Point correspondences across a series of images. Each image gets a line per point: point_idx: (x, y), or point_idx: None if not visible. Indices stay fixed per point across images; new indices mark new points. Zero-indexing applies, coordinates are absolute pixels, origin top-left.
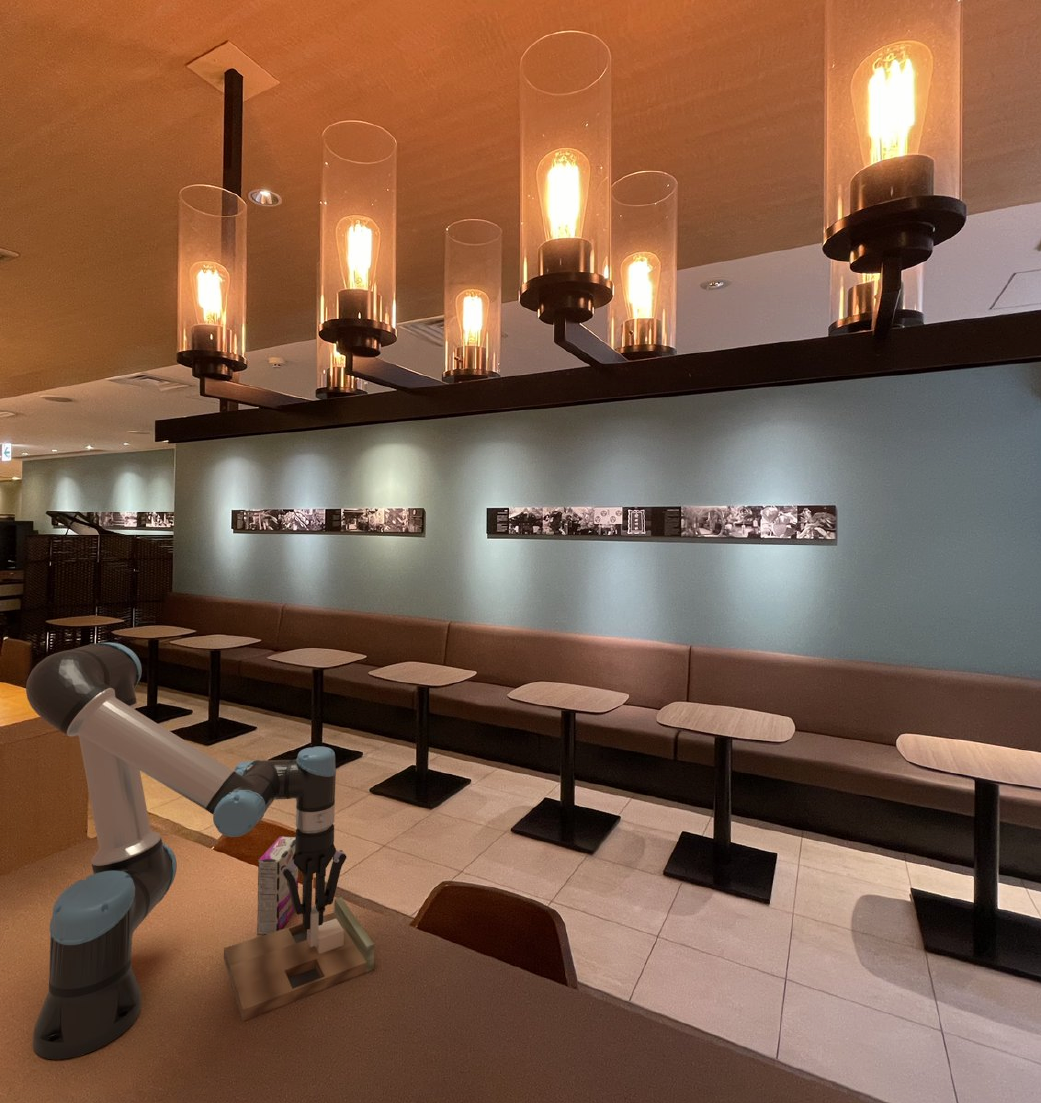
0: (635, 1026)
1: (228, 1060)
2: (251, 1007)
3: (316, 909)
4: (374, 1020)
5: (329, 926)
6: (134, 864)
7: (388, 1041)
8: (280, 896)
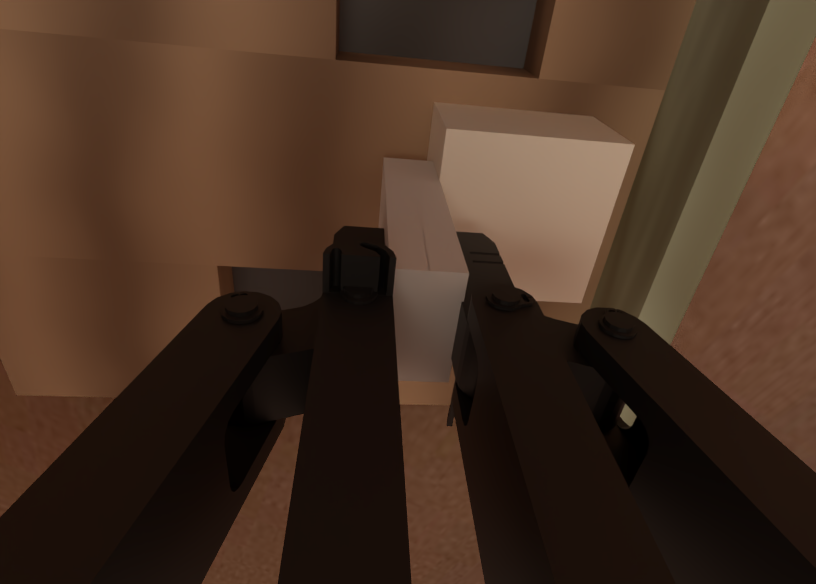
0: None
1: (13, 471)
2: (54, 394)
3: (452, 338)
4: (442, 530)
5: (540, 212)
6: None
7: (435, 580)
8: None
